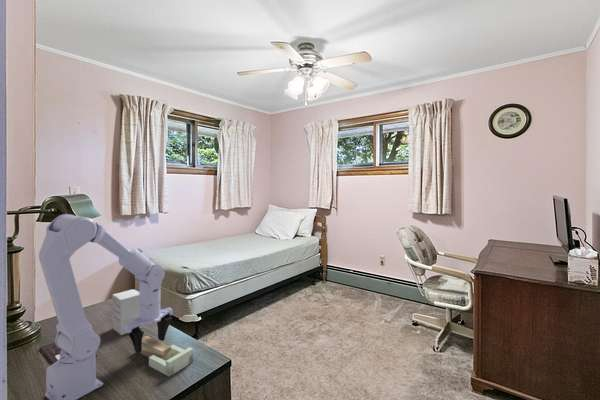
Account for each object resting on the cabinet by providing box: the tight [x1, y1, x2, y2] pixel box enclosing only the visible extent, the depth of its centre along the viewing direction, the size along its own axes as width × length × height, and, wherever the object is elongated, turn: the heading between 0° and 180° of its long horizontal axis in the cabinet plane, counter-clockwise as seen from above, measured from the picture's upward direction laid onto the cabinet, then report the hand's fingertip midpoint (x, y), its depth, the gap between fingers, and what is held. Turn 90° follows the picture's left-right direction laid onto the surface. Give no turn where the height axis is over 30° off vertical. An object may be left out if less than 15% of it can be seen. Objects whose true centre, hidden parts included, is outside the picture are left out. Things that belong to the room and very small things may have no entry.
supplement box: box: [112, 289, 144, 336], centre depth 105 cm, size 7×7×13 cm
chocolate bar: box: [39, 342, 98, 365], centre depth 90 cm, size 9×1×18 cm
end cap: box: [148, 344, 194, 377], centre depth 86 cm, size 8×9×4 cm
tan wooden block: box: [139, 335, 172, 361], centre depth 90 cm, size 3×12×4 cm, turn 61°
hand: (150, 345), depth 91 cm, fingers open, 7 cm apart
